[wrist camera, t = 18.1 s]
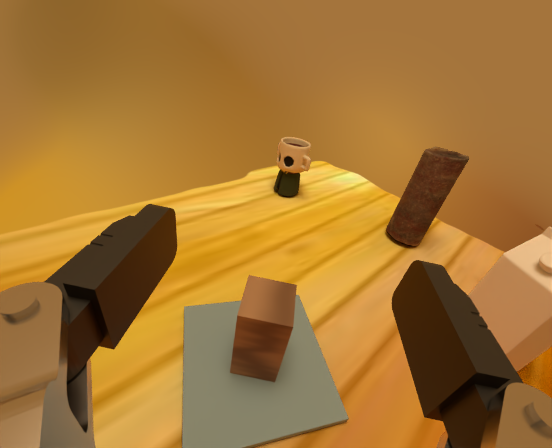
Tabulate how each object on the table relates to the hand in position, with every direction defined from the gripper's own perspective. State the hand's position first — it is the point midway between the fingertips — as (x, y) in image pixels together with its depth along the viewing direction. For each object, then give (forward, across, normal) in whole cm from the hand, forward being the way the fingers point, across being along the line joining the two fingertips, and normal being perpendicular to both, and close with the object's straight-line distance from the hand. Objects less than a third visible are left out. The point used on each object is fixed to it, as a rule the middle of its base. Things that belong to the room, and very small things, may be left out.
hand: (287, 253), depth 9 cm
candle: (+43, -26, +25) cm, 57 cm away
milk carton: (+18, -30, +25) cm, 43 cm away
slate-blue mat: (+10, 0, +25) cm, 27 cm away
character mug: (+54, 0, +25) cm, 60 cm away
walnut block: (+10, 0, +24) cm, 26 cm away
